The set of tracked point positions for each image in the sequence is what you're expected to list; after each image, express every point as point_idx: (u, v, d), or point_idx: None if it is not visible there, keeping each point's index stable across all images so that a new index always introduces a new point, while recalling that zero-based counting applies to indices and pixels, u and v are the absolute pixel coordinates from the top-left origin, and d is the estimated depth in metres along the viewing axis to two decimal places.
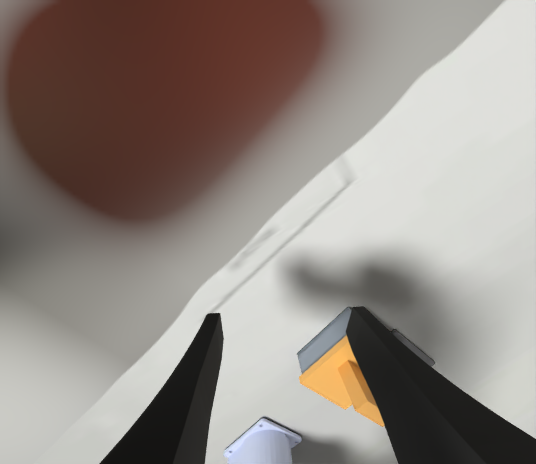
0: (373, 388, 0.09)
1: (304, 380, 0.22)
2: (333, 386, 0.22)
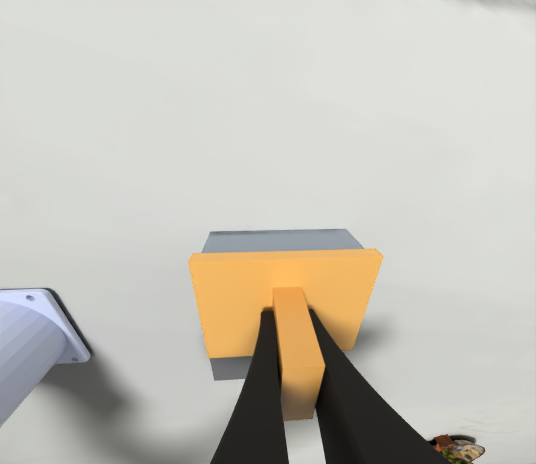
0: None
1: (201, 262, 0.09)
2: (233, 312, 0.11)
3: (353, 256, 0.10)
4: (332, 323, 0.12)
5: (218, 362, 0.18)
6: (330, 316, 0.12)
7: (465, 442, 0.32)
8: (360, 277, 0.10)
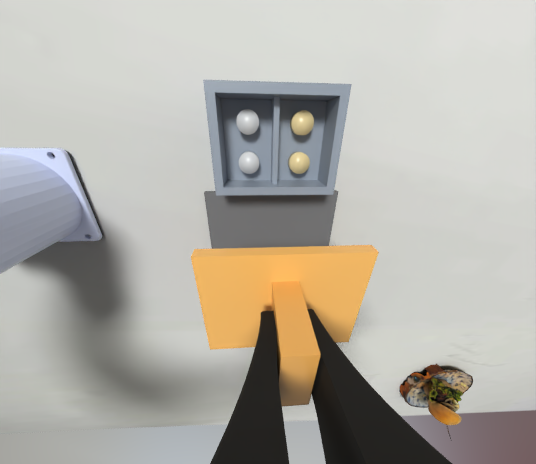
0: (313, 393, 0.09)
1: (203, 258, 0.10)
2: (233, 305, 0.12)
3: (349, 252, 0.10)
4: (329, 316, 0.13)
5: None
6: (327, 309, 0.12)
7: None
8: (356, 272, 0.11)
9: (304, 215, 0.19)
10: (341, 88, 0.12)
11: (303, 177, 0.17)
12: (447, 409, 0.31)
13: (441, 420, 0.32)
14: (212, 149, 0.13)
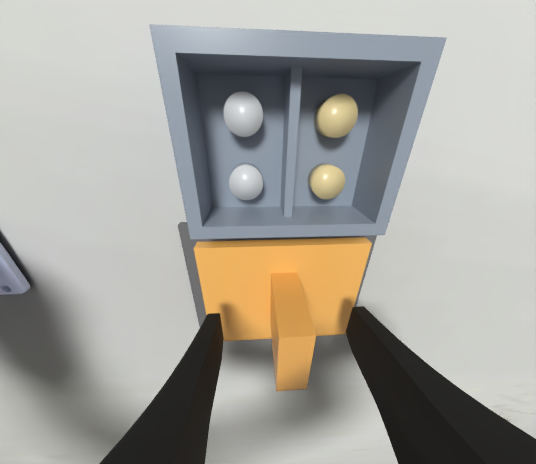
0: (373, 388, 0.09)
1: (205, 249, 0.10)
2: (234, 296, 0.12)
3: (344, 244, 0.11)
4: (326, 308, 0.13)
5: None
6: (324, 301, 0.13)
7: None
8: (351, 263, 0.11)
9: None
10: (426, 46, 0.06)
11: (330, 202, 0.11)
12: None
13: None
14: (178, 164, 0.07)
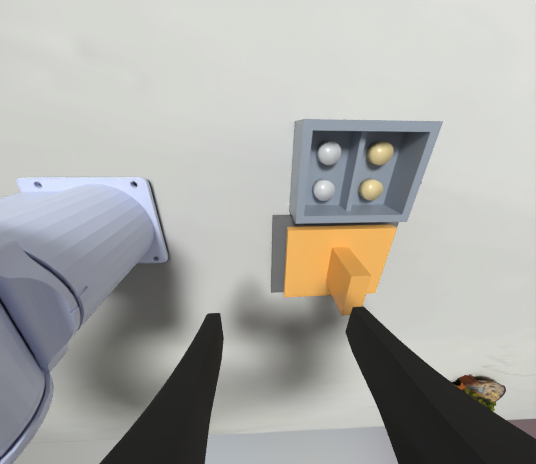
0: (373, 388, 0.09)
1: (295, 231, 0.17)
2: (306, 263, 0.18)
3: (379, 228, 0.17)
4: None
5: (278, 270, 0.20)
6: None
7: None
8: (382, 241, 0.18)
9: None
10: (432, 125, 0.13)
11: (370, 202, 0.18)
12: None
13: None
14: (300, 181, 0.14)
